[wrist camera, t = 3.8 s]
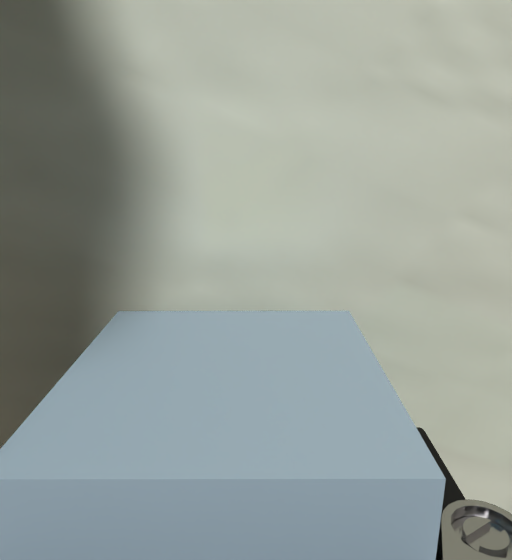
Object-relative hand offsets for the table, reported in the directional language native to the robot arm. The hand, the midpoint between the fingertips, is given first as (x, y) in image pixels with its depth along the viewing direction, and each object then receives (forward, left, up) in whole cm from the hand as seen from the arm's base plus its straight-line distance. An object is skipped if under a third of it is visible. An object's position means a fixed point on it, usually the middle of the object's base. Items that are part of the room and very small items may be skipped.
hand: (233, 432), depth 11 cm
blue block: (0, 0, -1) cm, 1 cm away
